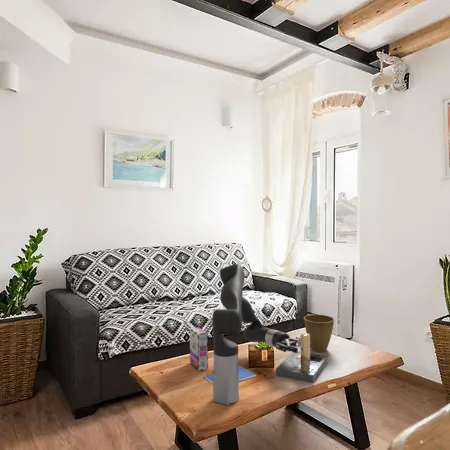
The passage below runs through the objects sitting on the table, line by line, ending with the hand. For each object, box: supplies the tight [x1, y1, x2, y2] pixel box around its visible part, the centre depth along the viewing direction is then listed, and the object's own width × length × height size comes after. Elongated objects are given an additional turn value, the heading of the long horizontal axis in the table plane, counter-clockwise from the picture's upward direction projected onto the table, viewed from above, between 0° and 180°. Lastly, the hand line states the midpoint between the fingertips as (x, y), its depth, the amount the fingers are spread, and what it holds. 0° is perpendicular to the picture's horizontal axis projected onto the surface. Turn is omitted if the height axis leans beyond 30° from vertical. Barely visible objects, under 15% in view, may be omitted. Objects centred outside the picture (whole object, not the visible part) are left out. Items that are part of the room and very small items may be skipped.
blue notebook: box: [203, 365, 257, 384], centre depth 162 cm, size 19×13×1 cm, turn 123°
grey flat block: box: [275, 351, 328, 384], centre depth 169 cm, size 24×16×3 cm, turn 152°
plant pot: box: [303, 313, 335, 353], centre depth 194 cm, size 15×15×16 cm
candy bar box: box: [189, 326, 209, 371], centre depth 174 cm, size 11×5×16 cm, turn 25°
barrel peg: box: [299, 333, 311, 369], centre depth 162 cm, size 4×4×14 cm
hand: (304, 348), depth 163 cm, fingers open, 8 cm apart
